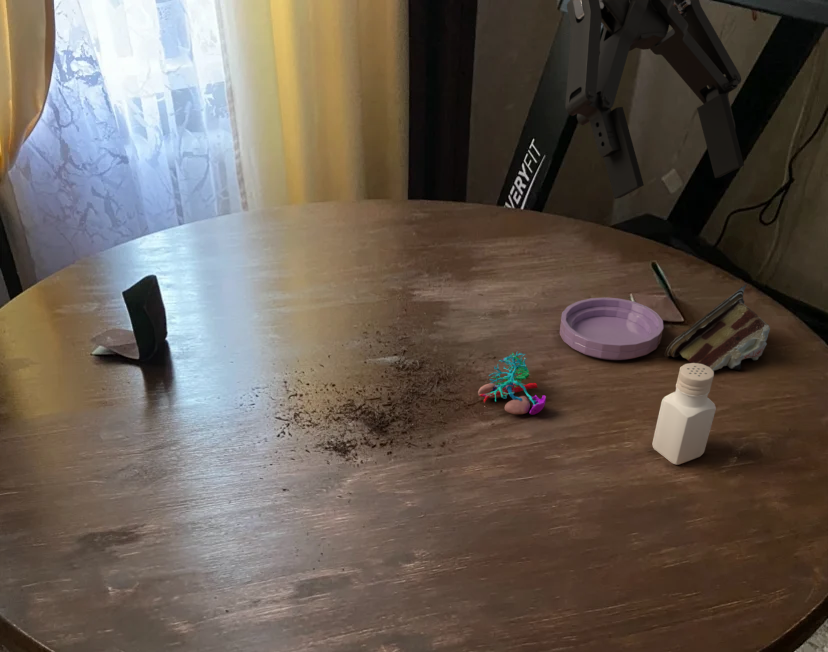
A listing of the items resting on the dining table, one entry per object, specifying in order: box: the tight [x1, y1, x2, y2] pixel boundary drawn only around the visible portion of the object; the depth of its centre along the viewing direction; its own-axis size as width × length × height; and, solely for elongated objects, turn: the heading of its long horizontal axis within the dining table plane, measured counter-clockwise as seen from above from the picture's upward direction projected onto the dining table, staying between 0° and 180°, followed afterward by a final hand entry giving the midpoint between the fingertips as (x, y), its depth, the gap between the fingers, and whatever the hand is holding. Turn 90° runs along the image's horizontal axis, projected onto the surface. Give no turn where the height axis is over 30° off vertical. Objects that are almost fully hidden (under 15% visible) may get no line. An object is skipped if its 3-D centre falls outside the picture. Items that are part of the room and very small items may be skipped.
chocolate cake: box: [664, 284, 771, 372], centre depth 99 cm, size 10×7×12 cm
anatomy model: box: [477, 351, 547, 416], centre depth 91 cm, size 5×8×7 cm
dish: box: [559, 296, 664, 361], centre depth 103 cm, size 12×12×2 cm
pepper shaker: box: [651, 362, 717, 466], centre depth 83 cm, size 4×4×10 cm
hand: (681, 182), depth 74 cm, fingers open, 13 cm apart
